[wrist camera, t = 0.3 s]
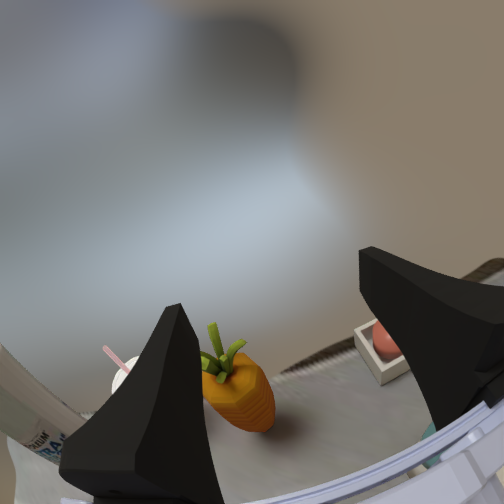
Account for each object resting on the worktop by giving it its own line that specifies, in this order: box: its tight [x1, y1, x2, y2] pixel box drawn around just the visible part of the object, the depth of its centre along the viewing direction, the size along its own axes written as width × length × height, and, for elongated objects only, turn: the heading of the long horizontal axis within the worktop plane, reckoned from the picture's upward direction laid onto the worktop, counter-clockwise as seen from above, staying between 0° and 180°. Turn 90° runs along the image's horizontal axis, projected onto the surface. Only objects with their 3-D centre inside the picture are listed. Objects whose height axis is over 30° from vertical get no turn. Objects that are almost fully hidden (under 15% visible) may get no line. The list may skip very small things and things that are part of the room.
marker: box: [406, 422, 452, 479], centre depth 15 cm, size 4×4×8 cm
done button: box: [373, 320, 403, 359], centre depth 27 cm, size 4×4×2 cm
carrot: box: [200, 322, 275, 432], centre depth 22 cm, size 5×5×15 cm
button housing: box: [354, 318, 410, 386], centre depth 27 cm, size 6×6×3 cm
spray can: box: [0, 343, 88, 466], centre depth 19 cm, size 6×6×20 cm
